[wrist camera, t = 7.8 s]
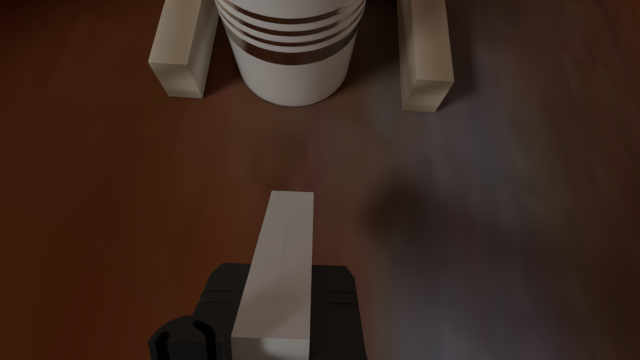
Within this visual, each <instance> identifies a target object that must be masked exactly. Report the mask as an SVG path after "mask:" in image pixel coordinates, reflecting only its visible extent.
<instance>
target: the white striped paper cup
mask: <svg viewBox="0 0 640 360" xmlns="http://www.w3.org/2000/svg"><path fill="white" fill-rule="evenodd" d="M214 1H215V3H216V6H217V10H218V12H219V15H220V17H221V19H222V22H223V24H224V27H225V30H226V32H227V35H228V38H229V41H230V44H231V47H232V50H233V53H234V56H235V59H236V62H237V65H238V68H239V70H240V73H241V76H242V78H243V80H244V81H245V83H246V85H247V86H248V87H249V88H250V89H251V90H252V91H253V92H254V93H255V94H256V95H258V96H259V97H261V98H262V99H264V100H266V101H268V102H271V103H274V104H277V105H281V106H288V107H300V106H307V105H311V104H315V103H317V102H320V101H322V100H324V99H326V98H327V97H329V96H330V95H332V94H333V93H334V92H335V91H336V90H337V89H338V88H339V87H340V85H341V84H342V83H343V81H344V79H345V77H346V74H347V71H348V67H349V63H350V59H351V55H352V51H353V47H354V43H355V40H356V36H357V32H358V28H359V24H360V21H361V18H362V15H363V12H364V9H365V4H366V0H214Z"/></svg>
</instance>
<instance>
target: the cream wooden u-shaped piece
mask: <svg viewBox="0 0 640 360" xmlns="http://www.w3.org/2000/svg"><path fill="white" fill-rule="evenodd" d="M397 17H398V38H399V59H400V80H401V101H402V111H417V112H434V113H435V111H436V110H437V108H438V107H439V105H440V103H441V102H442V100H443V99H444V97H445V96H446V94H447V92H448V91H449V89H450V88H451V86H452V85H453V83H454V75H453V66H452V58H451V49H450V40H449V31H448V23H447V14H446V5H445V0H397ZM218 18H219V12H218V10H217V6H216V3H215V1H214V0H165V3H164V7H163V11H162V14H161V18H160V22H159V25H158V29H157V32H156V36H155V40H154V43H153V47H152V50H151V54H150V58H149V61H148V63H149V64H150V66H151V68H152V69H153V71H154V73H155V74H156V76H157V78H158V79H159V81H160V82H161V84H162V86H163V87H164V89H165V91H166V92H167V94H168V96H172V97H189V98H203V94H204V89H205V84H206V79H207V74H208V69H209V64H210V59H211V54H212V49H213V44H214V38H215V33H216V28H217V23H218Z"/></svg>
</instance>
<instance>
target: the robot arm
mask: <svg viewBox="0 0 640 360" xmlns="http://www.w3.org/2000/svg"><path fill="white" fill-rule="evenodd" d="M313 196H314V193H313V192H289V191H272V193H271V197H270V200H269V204H268V207H267V211H266V214H265V218H264V221H263V225H262V228H261V232H260V236H259V239H258V243H257V246H256V250H255V253H254V257H253V260H252V264H239V263H222V264H221V265H220V266H219V267H218V268H217V269H216V270H215V271H214V272H213V273H211V275H210V277H209V279H208V281H207V284H206V286H205V290H204V291H203V293H202V295H201V297H200V301H199V302H198V304H197V307H196V309H195V311H194V313H193V315H190V316H182V317H180V318H177V319H174V320H172V321H169V322H168V323H166V324H165V325H163V326H162V327H160V328H159V329H158V330H156V332H155V333H154V334H153V335H152V337H151V338H150V339H149V340H148V344H149V349H150V354H151V359H152V360H368V359H367V356H366V352H365V346H364V339H363V333H362V326H361V319H360V312H359V307H358V298H357V294H356V293H357V292H356V285H355V278H354V277H353V275H352V274H351V273H350V271H349V270H348V269H347V267H346V266H326V265H312V233H313Z"/></svg>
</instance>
